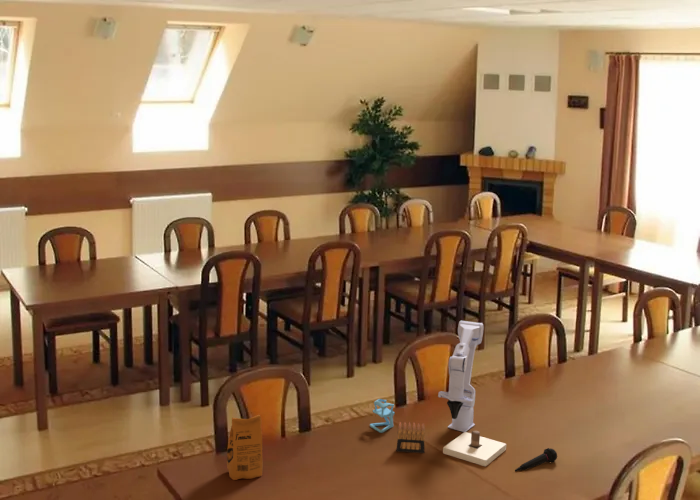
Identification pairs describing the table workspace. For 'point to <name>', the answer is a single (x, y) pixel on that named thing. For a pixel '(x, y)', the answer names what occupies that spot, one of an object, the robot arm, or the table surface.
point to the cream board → (474, 449)
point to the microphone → (540, 459)
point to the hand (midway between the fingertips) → (454, 418)
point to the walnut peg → (475, 439)
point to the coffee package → (245, 448)
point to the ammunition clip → (411, 438)
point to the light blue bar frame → (383, 415)
